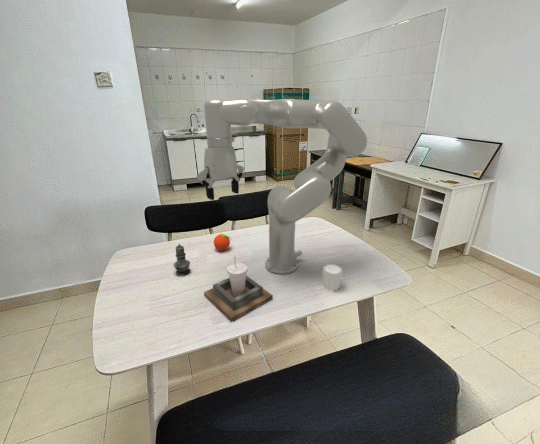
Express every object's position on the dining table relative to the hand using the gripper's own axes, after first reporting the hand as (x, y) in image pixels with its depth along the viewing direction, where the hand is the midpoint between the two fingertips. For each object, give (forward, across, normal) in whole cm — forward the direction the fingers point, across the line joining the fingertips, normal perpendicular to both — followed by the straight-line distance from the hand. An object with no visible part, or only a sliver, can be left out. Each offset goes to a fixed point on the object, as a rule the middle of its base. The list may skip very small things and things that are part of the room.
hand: (223, 195), depth 96 cm
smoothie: (+29, +6, +14) cm, 33 cm away
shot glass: (+31, -21, +31) cm, 48 cm away
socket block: (+30, +6, +14) cm, 34 cm away
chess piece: (+30, +12, -12) cm, 35 cm away
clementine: (+30, -9, -16) cm, 36 cm away
